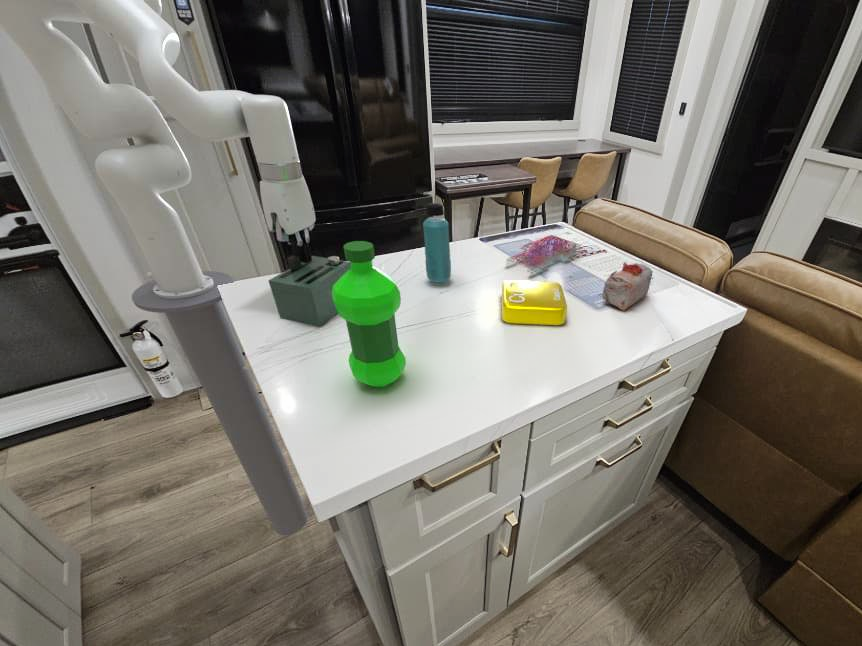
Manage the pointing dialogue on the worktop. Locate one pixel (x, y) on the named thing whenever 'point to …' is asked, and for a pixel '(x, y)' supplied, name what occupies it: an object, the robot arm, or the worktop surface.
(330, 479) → the worktop surface
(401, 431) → the worktop surface
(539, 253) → the purple mottled irregular slab
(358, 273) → the plastic bottle
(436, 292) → the worktop surface
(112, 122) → the robot arm
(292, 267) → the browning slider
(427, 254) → the beverage bottle
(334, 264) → the button
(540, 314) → the element tile
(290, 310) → the toaster
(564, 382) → the worktop surface
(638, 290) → the food item
